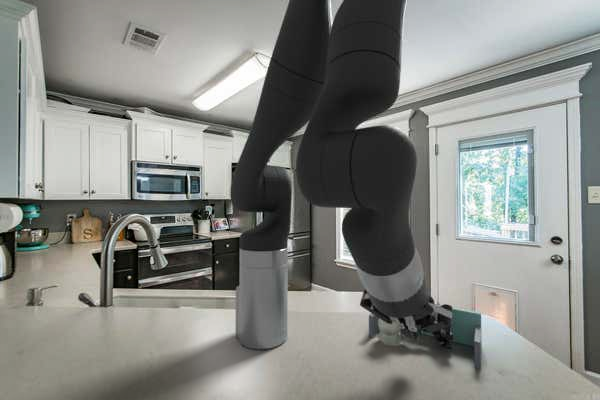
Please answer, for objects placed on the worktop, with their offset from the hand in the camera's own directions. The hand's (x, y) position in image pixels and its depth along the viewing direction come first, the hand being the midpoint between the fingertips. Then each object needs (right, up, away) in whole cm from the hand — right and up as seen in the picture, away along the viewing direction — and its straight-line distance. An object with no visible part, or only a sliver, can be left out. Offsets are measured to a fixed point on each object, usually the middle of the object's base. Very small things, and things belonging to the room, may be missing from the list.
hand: (412, 333), depth 43 cm
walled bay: (+5, -5, +7) cm, 10 cm away
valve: (+2, -5, +6) cm, 8 cm away
